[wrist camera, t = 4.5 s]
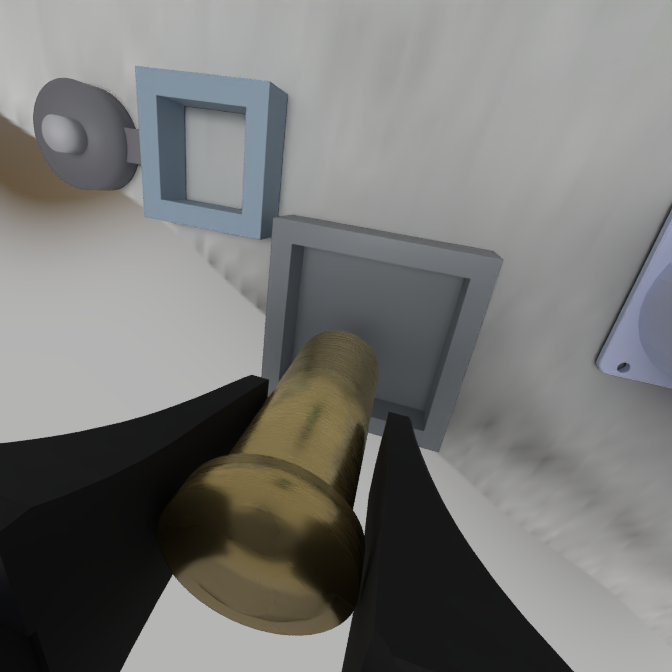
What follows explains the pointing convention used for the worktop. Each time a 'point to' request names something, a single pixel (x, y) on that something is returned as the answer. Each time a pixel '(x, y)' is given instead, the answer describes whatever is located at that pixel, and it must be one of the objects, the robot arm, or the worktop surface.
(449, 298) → the tray
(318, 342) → the pin
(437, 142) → the worktop surface
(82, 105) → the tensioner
